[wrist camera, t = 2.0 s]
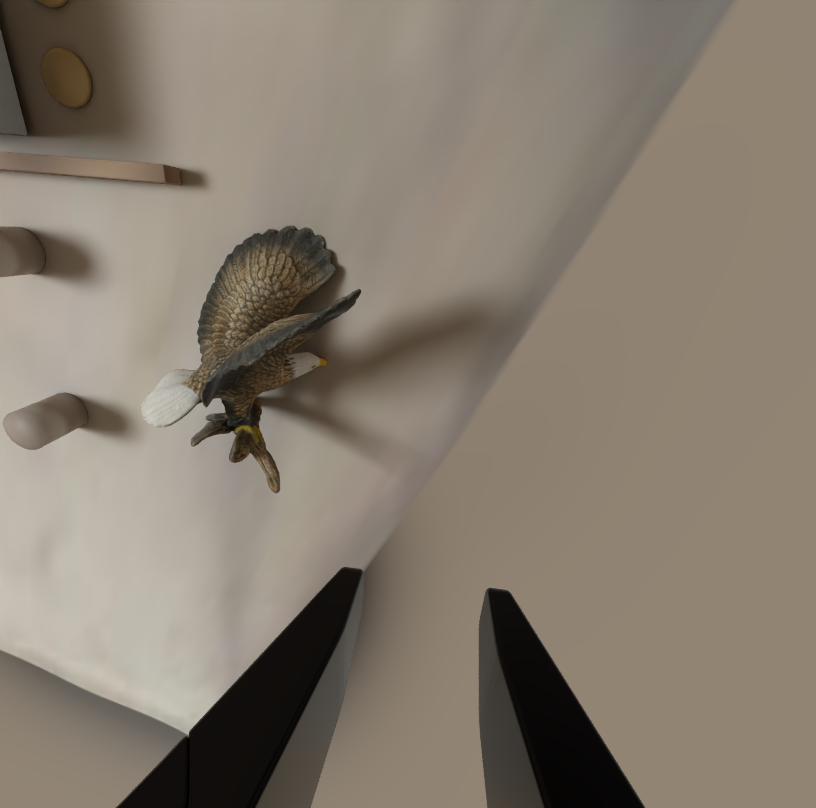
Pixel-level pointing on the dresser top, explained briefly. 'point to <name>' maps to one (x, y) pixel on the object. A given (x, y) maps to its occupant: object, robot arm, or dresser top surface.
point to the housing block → (9, 98)
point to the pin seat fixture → (24, 253)
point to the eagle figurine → (251, 339)
